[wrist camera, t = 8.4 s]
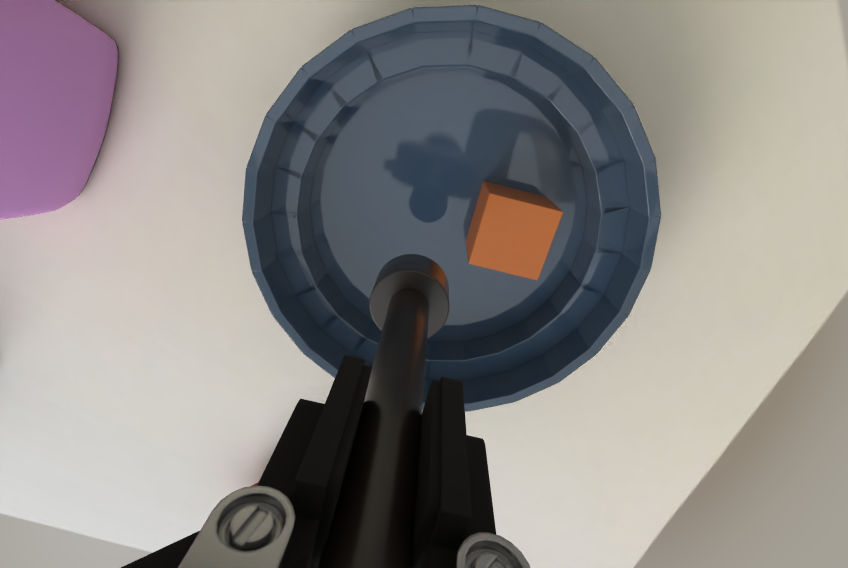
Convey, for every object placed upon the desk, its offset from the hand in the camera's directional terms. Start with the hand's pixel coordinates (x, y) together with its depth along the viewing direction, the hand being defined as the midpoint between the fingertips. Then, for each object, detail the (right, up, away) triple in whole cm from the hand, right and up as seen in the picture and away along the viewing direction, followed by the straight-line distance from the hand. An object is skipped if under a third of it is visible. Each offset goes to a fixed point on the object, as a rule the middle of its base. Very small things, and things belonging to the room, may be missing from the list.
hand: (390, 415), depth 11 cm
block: (+6, +7, +16) cm, 18 cm away
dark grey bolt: (0, +3, +8) cm, 9 cm away
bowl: (+2, +8, +16) cm, 18 cm away
